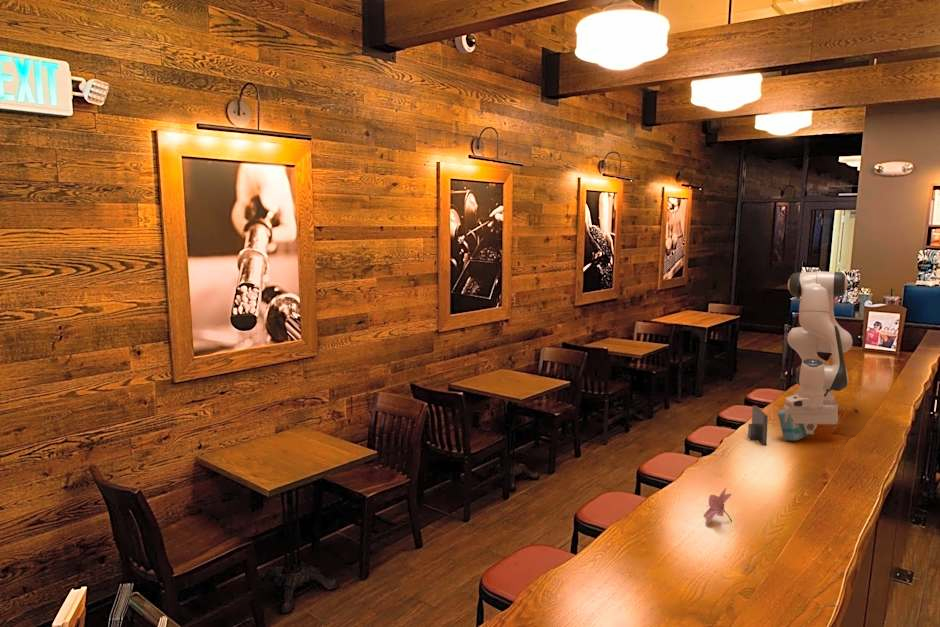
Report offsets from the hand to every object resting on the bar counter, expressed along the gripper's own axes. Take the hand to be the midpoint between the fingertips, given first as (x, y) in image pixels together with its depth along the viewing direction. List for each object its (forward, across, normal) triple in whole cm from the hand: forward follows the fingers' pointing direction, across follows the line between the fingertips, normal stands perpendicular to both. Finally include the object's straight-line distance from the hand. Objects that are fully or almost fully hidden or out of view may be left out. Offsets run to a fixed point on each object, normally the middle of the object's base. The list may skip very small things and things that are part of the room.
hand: (808, 434), depth 249 cm
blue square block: (+2, +4, -1) cm, 5 cm away
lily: (+3, +54, +73) cm, 91 cm away
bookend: (+3, +20, 0) cm, 20 cm away
